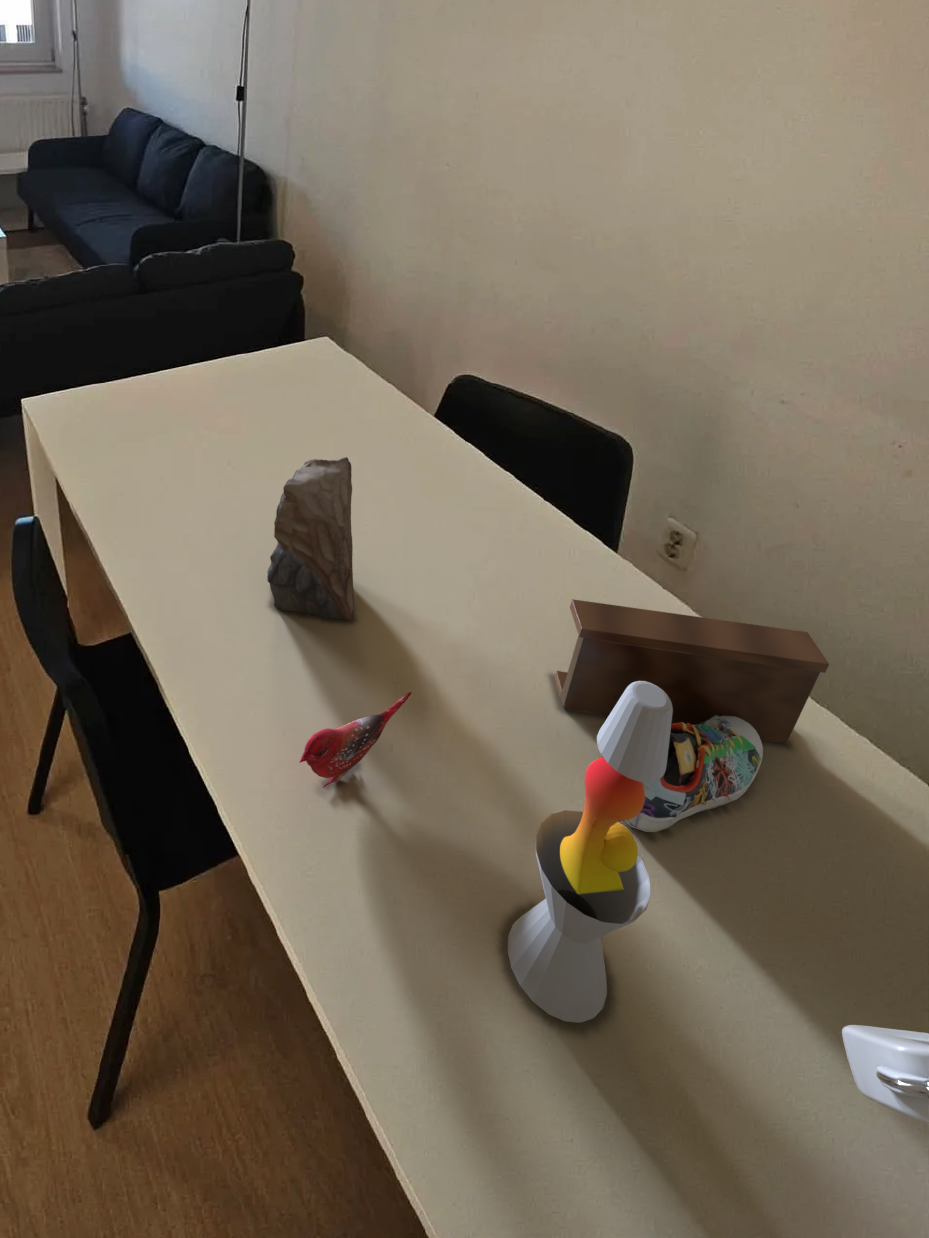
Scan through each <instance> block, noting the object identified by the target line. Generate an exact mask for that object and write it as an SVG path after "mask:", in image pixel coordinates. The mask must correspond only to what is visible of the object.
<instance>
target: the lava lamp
mask: <svg viewBox="0 0 929 1238" xmlns="http://www.w3.org/2000/svg"><path fill="white" fill-rule="evenodd" d="M672 713H673V708H672V702H671V700H670V699H669V697H668V695H667V694H666V693H665V692H664V691H663V690H662V689H661V688H659V687H658V686H656V685H654V684H652V683H649V682H646V681H636V682H633V683H631V684H630V685H629V686H628V687H627V688H626V690H625V691H624V693H623V694H622V696H621V698H620V699H619V701H618V702H617V704H616V705H615V707H614V708H613V710H612V712H611V713H610V715H609V716H608V715H607V718H606V720H605V721H604V723H603V724H602V725H601V727H600V728H599V731H598V733H597V735H596V746H597V749H598V750H599V753H600V755H601V756H602V757H599V758H595V760H593V761H592V762H590V764H589V765H588V767H587V768H586V771H585V774H584V807H583V811H580V810H579V811H578V810H561V811H558V812H554V813H551V814H550V815H549V816H547V818H546V817H545V819H544V820H542V821H541V823H540V826H539V827H538V830H537V832H536V835H535V856H536V862H537V865H538V870H539V875H540V879H541V884H542V888H543V892H544V896H545V898H544V899H543V900H542V901H539V902H538V903H537V904H536V905H534V906H533V907H532V908H530V909H529V910H528V911H526V912H525V913H523V914H522V915H521V916H520V917H519V918H518V919H516V920H515V921H514V923H513V924H512V925H511V929H510V931H509V933H508V935H507V955H508V958H509V959H508V960H509V964H510V968H511V971H512V972H513V974H514V977H515V978H516V981H517V983H518V985H519V986H520V988H521V989H522V990H523V991H524V993H525V995H527V997H528V998H529V999H530V1000H531V1002H532V1003H534V1004H535V1005H536V1006H537V1007H539V1008H540V1009H541V1010H542V1011H544V1012H545V1013H546V1014H547V1015H549V1016H551V1017H554V1018H557V1019H558V1020H560V1021H563V1022H568V1023H576V1024H577V1023H578V1024H581V1023H584V1022H587V1021H590V1020H593V1019H594V1018H595V1017H596V1016H597V1015H598V1014H599V1013H600V1012H601V1011H602V1010H603V1009H604V1007H605V1003H606V999H607V996H608V985H607V984H608V983H607V973H606V971H607V970H606V966H605V958H604V950H603V944H602V937H604V936H606V935H609V934H611V933H613V932H616V931H618V930H619V929H622V928H623V927H627V926H628V925H631V924H632V923H634V922H636V921H637V920H638V919H639V918H640V917H641V915H643V914H644V912H646V910H647V909H648V906H649V901H650V898H651V895H652V894H651V882H650V876H649V874H648V871H647V868H646V867H645V864H644V862H643V859H642V857H641V856H640V854H639V849H638V848H639V847H638V843H637V841H636V839H635V836H634V835H633V834H632V832H631V831H630V830H629V828H628V827H626V826H625V825H624V824H622V823H621V822H622V821H623V822H624V821H625V820H629V819H632V818H634V817H636V816H637V815H638V814H639V813H640V811H641V810H642V808H643V806H644V802H645V791H644V787H643V784H642V782H649V783H650V782H654V781H657V780H659V779H660V778H661V777H662V776H664V773H665V770H666V766H667V757H668V748H669V739H670V731H671V722H672Z"/></svg>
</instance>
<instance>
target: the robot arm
mask: <svg viewBox="0 0 929 1238" xmlns="http://www.w3.org/2000/svg"><path fill="white" fill-rule="evenodd" d="M841 1036H842V1041H843V1045H844V1050H845V1054H846V1058H847V1061H848V1064H849V1067H850V1070H851V1073H852V1077H853V1079H854V1082H855V1084H856V1087H857V1089H858V1090H859V1092H860V1093H861V1095H863V1096H864V1098H867V1099H868V1100H870V1101H872V1102H874V1103H876V1104H878V1105H880V1106H882V1107H884V1108H887V1109H889V1110H892V1111H894V1112H896V1113H898V1114H901V1115H903V1116H906V1117H908V1118H910V1119H914V1120H917V1121H920V1122H923V1123H927V1124H929V1032H921V1031H914V1030H913V1031H912V1030H904V1029H895V1028H888V1027H887V1028H886V1027H878V1026H871V1025H870V1026H869V1025H860V1024H859V1025H858V1024H849V1025H845V1026H844V1027H843V1028H842V1029H841Z"/></svg>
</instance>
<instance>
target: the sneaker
mask: <svg viewBox="0 0 929 1238" xmlns="http://www.w3.org/2000/svg"><path fill="white" fill-rule="evenodd" d="M763 757H764V747H763V744H762V740H760V737H759V735H758V733H757V732H756V730H755V729H754V728H753V727H752V726H751V725H750V724H749V723H748V722H746V721H744V720H742V719H740V718H738V717H735V716H720V717H719V716H718V715H715V716H713V717H712V718H709V719H706V720H705V721H703V722H700V723H699V724H697V725H691V724H689V723H687V724H685V723H683V722H679V723H674V724H671V731H670V739H669V748H668V757H667V766H666V770H665V773H664V776H662V777H661V778H660V779H659V780H657V781H654V782H650V783H649V782H642V784H643V787H644V791H645V802H644V806H643V808H642V810H641V811H640V813H639V814H638V815H637V816H636V817H634V818H632V819H629V820H624V822H625V823H626V825H628V826H629V827H630V828H633V829H636V830H639V831H642V832H645V833H656V832H657V833H658V832H660V831H663V830H666V829H668V828H671V826H673V825H674V824H676V823H677V822H678V821H680V820H683V819H685V818H688V817H690V816H693V815H694V814H697V813H700V812H704V811H708V810H712V809H715V808H720V807H723V806H725V805H728V804H730V803H732V802H734V801H735V802H736V801H737V800H738V799H739V798H741V797H742V796H743V795H744V794H745V793H746V792H747V791H748V790H749V788H750V787H751V784H752V783H753V781H754V780H755V778H756V776H757V774H758V772H759V770H760V768H761V764H762V761H763Z"/></svg>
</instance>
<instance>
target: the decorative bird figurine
mask: <svg viewBox="0 0 929 1238" xmlns="http://www.w3.org/2000/svg"><path fill="white" fill-rule="evenodd" d="M412 694H413V691H409V692H407V693H406V694H405V695H403V696H402V697H401V698H399V699H398V700H397V701H395V702H394V703H393V704H391V705H390V706H389V707H388V708H387V709H385V710H384V711H382V712H381V713H379V714H372V715H368V716H364V717H360V718H357V719H355V720H353V721H351V722H348V723H346V724H344V725H341V726H339V727H336V728H323V729H320V730H318V731H316V732H315V733H313V734H312V735H311V736H310V737H309V738H308V740H307V741H306V743H305V746H304V750H303V753H302V755H301V756H300V759H299V763H303V762H306V764H307V765H308V766H309V767H310V769H311V771H312V772H313V773H314V774H316V775H317V776H318V777H320V778H325V779H330V780H329V781H327V782H326V783H324V785H323V786H322V789H324V788H325V787H328V786H329V785H331V784H332V783H337V782H338V781H339V780H340V779H342V778H343V777H344V776H345V775H346V774H347V773H348V772H349V771H350V770H351V769H353V768H354V767H355V766H356V765H358V764H359V763H360V762H361V761H362V760H363V758H365V756H366V755H367V754H368V752H369V751H370V750H371V748H372V747H373V746H374V745H375V744H376V742H377V741H378V740H379V738H380V737H381V735H382V733H383V731H384V730H385V728H386V725H387V724H388V723H389V721H390V719H392V717H394V715H395V714H396V713H397V712H398V710H399V709H400V708H401V707H402V706H403V705H404V704H405V703H406V701H408V699H409V698H410V697H411V695H412Z"/></svg>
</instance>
